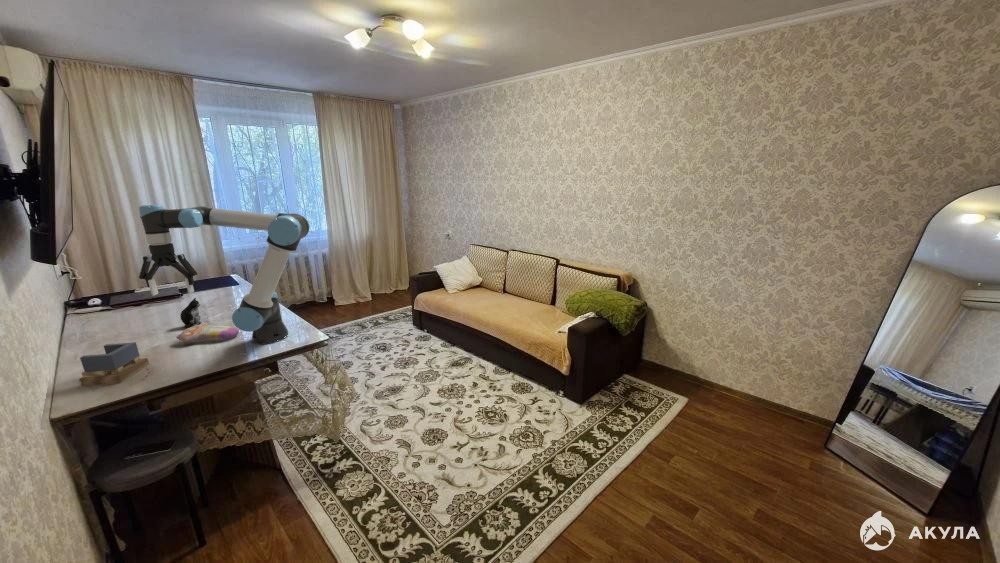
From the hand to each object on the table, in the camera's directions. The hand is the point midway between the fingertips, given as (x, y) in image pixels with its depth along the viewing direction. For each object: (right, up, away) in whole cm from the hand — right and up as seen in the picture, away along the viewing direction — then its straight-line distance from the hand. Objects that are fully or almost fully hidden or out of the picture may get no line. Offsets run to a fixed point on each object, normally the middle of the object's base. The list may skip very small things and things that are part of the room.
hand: (173, 293), depth 159 cm
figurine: (-25, -19, +41) cm, 51 cm away
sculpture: (-4, -23, +27) cm, 35 cm away
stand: (-15, -32, -8) cm, 36 cm away
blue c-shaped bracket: (-15, -27, -10) cm, 33 cm away
